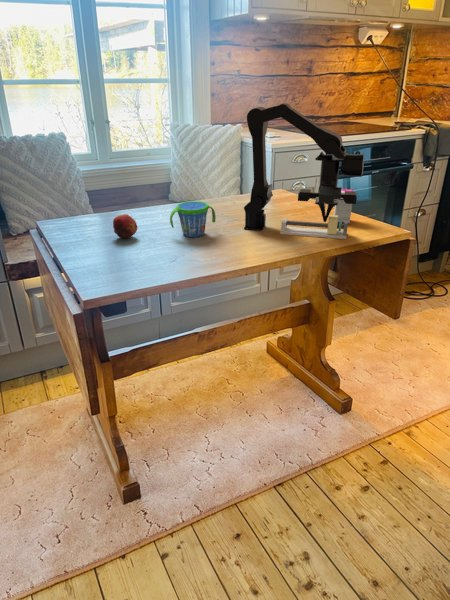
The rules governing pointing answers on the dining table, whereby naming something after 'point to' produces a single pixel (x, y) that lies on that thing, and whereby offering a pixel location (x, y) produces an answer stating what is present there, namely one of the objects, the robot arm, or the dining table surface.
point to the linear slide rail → (311, 231)
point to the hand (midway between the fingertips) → (324, 221)
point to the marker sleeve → (332, 224)
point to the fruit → (124, 226)
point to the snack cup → (192, 217)
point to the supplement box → (343, 209)
